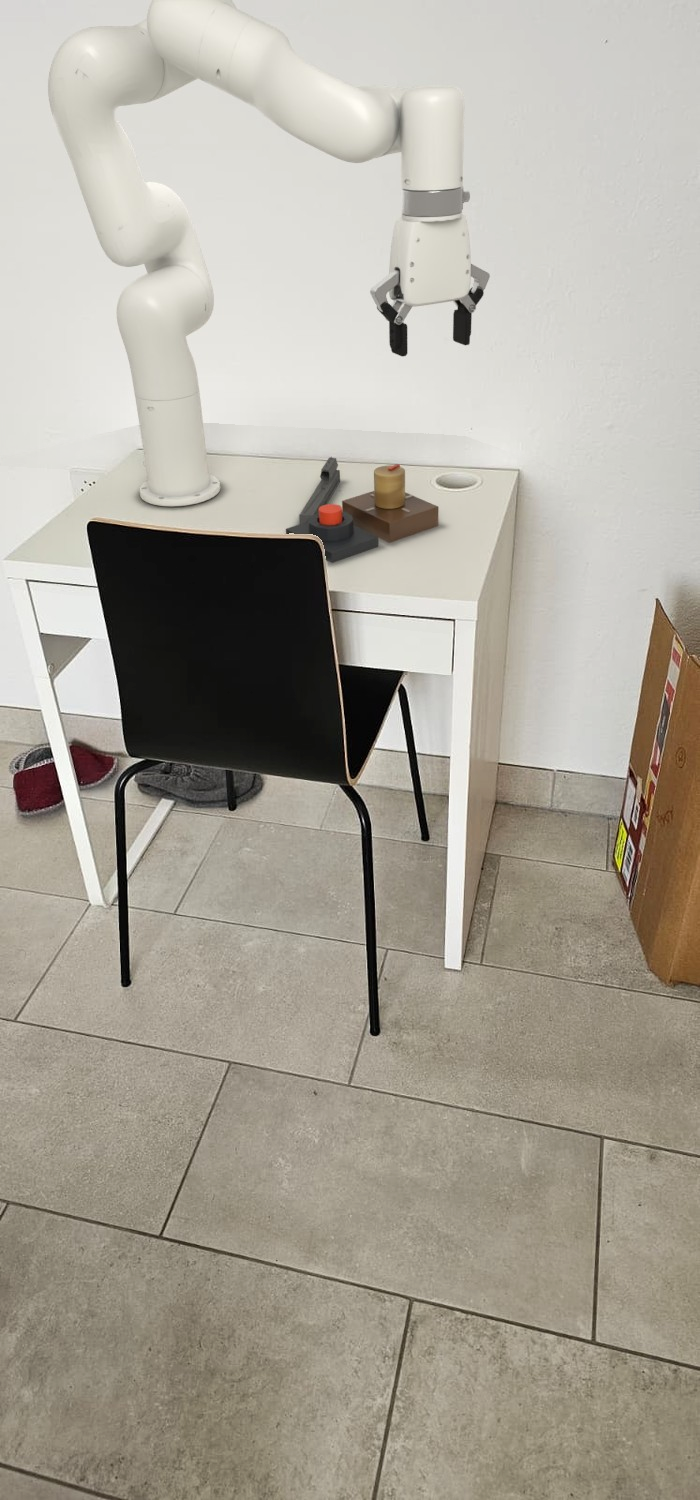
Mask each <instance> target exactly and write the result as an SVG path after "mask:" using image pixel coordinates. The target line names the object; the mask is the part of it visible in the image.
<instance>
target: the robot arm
mask: <svg viewBox="0 0 700 1500" xmlns="http://www.w3.org/2000/svg"><path fill="white" fill-rule="evenodd" d="M48 72H49V73H48V79H47V93H48V101H49V107H50V111H51V115H52V118H53V121H54V124H55V126H56V129H57V131H58V133H59V136H60V139H61V141H62V143H63V146H64V148H65V151H66V153H67V155H68V158H69V161H70V162H71V165H72V168H73V172H74V173H75V177H76V180H77V184H78V186H79V189H80V192H81V194H82V195H81V196H82V197H83V201H84V203H85V206H86V209H87V211H88V215H89V217H90V220H91V223H92V226H93V229H94V231H95V235H96V236H97V240H98V242H99V244H100V247H101V249H102V251H103V252H104V255H106V257H107V258H108V259H109V260H110V261H111V262H112V263H114V264H116V265H117V266H120V267H125V268H132V267H138V266H141V265H144V267H145V270H146V274H144V275H141V276H138V277H137V278H135V279H134V280H132V281H131V282H130V283H128V284H127V285H126V287H124V289H123V290H122V291H121V293H120V295H119V297H118V301H117V304H116V322H117V327H118V330H119V333H120V336H121V340H122V343H123V345H124V349H125V352H126V355H127V359H128V363H129V369H130V373H131V378H132V379H131V380H132V386H133V392H134V398H135V403H136V404H135V405H136V411H137V416H138V418H137V419H138V424H139V430H140V437H141V443H142V451H143V456H144V457H143V458H144V460H143V462H142V465H143V467H144V468H145V469H146V477H147V480H146V481H144V482H143V483H141V485H140V486H139V489H138V490H139V496H140V498H141V500H143V502H145V503H148V504H150V505H154V506H159V507H183V506H185V507H186V506H191V505H196V504H201V503H203V502H206V501H208V500H211V499H213V498H214V497H215V496H217V495H218V494H219V493H220V491H221V481H220V480H219V478H217V477H216V476H215V475H213V474H210V471H209V461H208V455H207V454H208V453H207V446H206V445H207V444H206V437H205V428H204V420H203V412H202V403H201V402H202V401H201V394H200V387H199V378H198V373H197V367H196V363H195V360H194V357H193V354H192V352H191V350H190V347H189V344H188V340H187V336H189V335H191V334H192V333H194V332H196V331H198V330H200V329H201V328H202V327H204V326H205V325H206V324H207V322H208V321H209V320H210V318H211V316H212V314H213V311H214V305H215V298H214V297H215V296H214V290H213V284H212V280H211V278H210V274H209V270H208V268H207V265H206V262H205V257H204V254H203V252H202V248H201V245H200V242H199V239H198V235H197V233H196V229H195V227H194V223H193V220H192V218H191V215H190V212H189V211H188V208H187V207H186V205H185V203H184V202H183V200H182V199H181V198H180V196H179V195H178V194H177V193H176V192H175V191H174V190H173V189H172V188H171V187H169V186H167V185H166V184H163V183H160V182H157V181H156V182H155V181H147V182H146V180H145V178H144V176H143V175H144V174H143V173H142V170H141V167H140V164H139V161H138V158H137V153H136V151H135V149H134V146H133V143H132V142H131V140H130V138H129V136H128V134H127V133H126V131H125V130H124V128H123V127H122V125H121V123H120V122H119V120H118V118H117V115H116V110H117V108H119V107H125V106H126V107H127V106H132V105H140V104H141V105H143V104H147V103H150V102H154V101H156V100H159V99H161V98H163V97H165V96H167V95H169V94H171V93H173V92H174V91H177V90H178V89H181V88H183V87H184V86H186V85H188V84H190V83H192V82H194V81H196V80H198V79H199V80H200V81H203V82H204V83H206V84H208V85H210V86H212V87H214V88H216V89H218V90H219V91H222V92H223V93H226V94H228V95H230V96H232V97H234V98H235V99H237V100H240V101H241V102H244V103H246V104H247V105H249V106H251V107H253V108H254V109H256V110H257V111H259V113H261V114H262V116H264V117H265V118H267V119H268V120H269V121H271V122H272V123H273V124H275V125H276V126H277V127H279V128H280V129H282V130H283V131H284V132H286V133H288V134H289V135H290V136H293V137H294V138H296V139H298V140H300V141H302V142H304V143H305V144H307V145H309V146H311V147H314V148H315V149H317V150H319V151H321V152H323V153H326V154H327V155H329V156H331V157H333V158H335V159H338V160H340V161H344V162H347V163H351V164H362V163H365V162H369V161H372V160H374V159H378V158H381V157H385V156H388V155H392V154H393V155H394V154H398V153H400V162H401V163H400V164H401V166H400V167H401V169H400V172H401V174H400V175H401V176H400V177H401V179H400V180H401V181H400V182H401V217H397V218H395V221H394V225H393V229H392V230H393V231H392V235H391V236H392V237H391V245H390V252H389V253H390V254H389V268H388V269H389V270H388V274H387V275H386V276H385V277H383V278H382V279H381V280H380V281H379V282H377V283H376V284H375V285H374V286H372V287H371V288H370V291H369V292H370V296H371V298H372V299H373V302H374V304H375V305H376V309H377V311H378V312H379V313H380V314H381V315H382V316H383V317H384V318H385V320H386V321H387V322H388V329H389V332H388V333H389V335H388V336H389V337H388V338H389V341H388V343H389V347H390V351H391V353H392V354H395V355H398V356H400V357H406V356H407V355H408V324H407V323H405V322H404V321H405V319H406V318H407V316H408V314H409V313H410V312H411V309H412V308H413V307H415V308H416V307H423V306H430V305H436V304H442V303H443V304H444V303H448V302H453V303H454V304H455V306H456V307H457V309H454V311H453V313H452V314H453V316H452V317H453V320H452V327H453V328H452V340H453V342H455V343H458V344H460V345H462V346H469V345H470V343H471V335H472V319H473V318H472V317H473V316H472V314H473V313H475V312H476V310H477V305H478V304H479V302H480V301H481V299H482V298H483V296H484V293H485V292H484V290H485V289H486V287H487V285H488V283H489V280H490V276H491V275H490V273H489V272H488V271H485V270H484V269H482V268H480V267H478V266H477V265H474V264H472V261H471V258H472V257H471V242H470V233H469V226H468V219H467V216H466V214H464V213H463V209H464V203H468V202H469V201H470V199H471V193H470V191H469V190H468V189H465V190H464V186H463V185H464V184H463V183H464V147H465V146H464V145H465V144H464V143H465V95H464V93H463V91H462V89H460V87H458V86H456V85H448V84H445V85H444V84H441V85H440V84H439V85H436V84H435V85H421V86H415V87H410V88H409V87H399V86H393V85H386V84H371V85H361V86H354V85H352V84H350V83H347V82H346V81H344V80H342V79H339V78H337V77H336V76H334V75H332V74H329V73H327V72H326V71H323V70H321V69H320V68H318V67H316V66H314V65H313V64H311V63H309V62H308V61H307V60H305V59H304V58H302V57H301V56H300V55H299V54H298V53H296V52H295V50H294V49H293V47H292V46H291V43H290V41H289V38H288V37H287V35H286V34H285V33H284V32H282V31H281V30H280V29H278V28H277V27H276V26H275V27H274V26H273V25H270V24H268V23H266V22H264V21H263V20H260V19H259V18H257V17H254V16H253V15H250V14H248V13H246V12H244V11H242V10H240V9H238V8H237V7H236V4H235V3H234V2H233V0H151V2H150V5H149V7H148V11H147V15H146V19H144V20H142V21H140V22H138V23H136V24H135V25H129V26H127V25H125V26H120V25H119V26H117V25H116V26H115V25H100V26H99V25H97V26H91V27H86V28H82V29H81V30H78V31H76V32H75V33H72V34H71V35H70V36H68V37H67V38H66V39H65V40H64V41H63V42H62V44H61V45H60V46H59V48H58V49H57V51H56V53H55V54H54V57H53V58H52V62H51V65H50V68H49V71H48ZM471 278H473V283H472V284H473V285H472V287H471V280H472V279H471ZM388 293H389V294H388ZM387 294H388V295H389V299H390V300H392V302H391V303H389V301H388V298H387Z"/></svg>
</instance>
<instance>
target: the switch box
mask: <svg viewBox="0 0 700 1500" xmlns="http://www.w3.org/2000/svg"><path fill="white" fill-rule="evenodd" d="M289 533H294V534H313V535H316V536H318V537H319V538H320V539H321V540H322V542H323V545H324V549H325V556H326V560H325V561H327V562H329V563H331V564H333V563H336V562H340V561H342V560H345V559H348V558H350V557H353V556H356V555H360V554H362V553H366V552H369V551H371V550H374V549H377V548H379V537H377V536H375V535H373V534H370V533H368V532H366V531H364V530H362V529H360V528H358V527H356V526H354V525H353V518H352V515H350V514H348V513H345V512H342V523H338V524H335V525H325V524H321V523H319V513H317V514H314V515H312V516H311V517H310V518H309V519H308V522H305V523H302V524H300V523H299V524H296V525H293V526H290V527H287V528H285V535H286V534H289Z"/></svg>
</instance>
